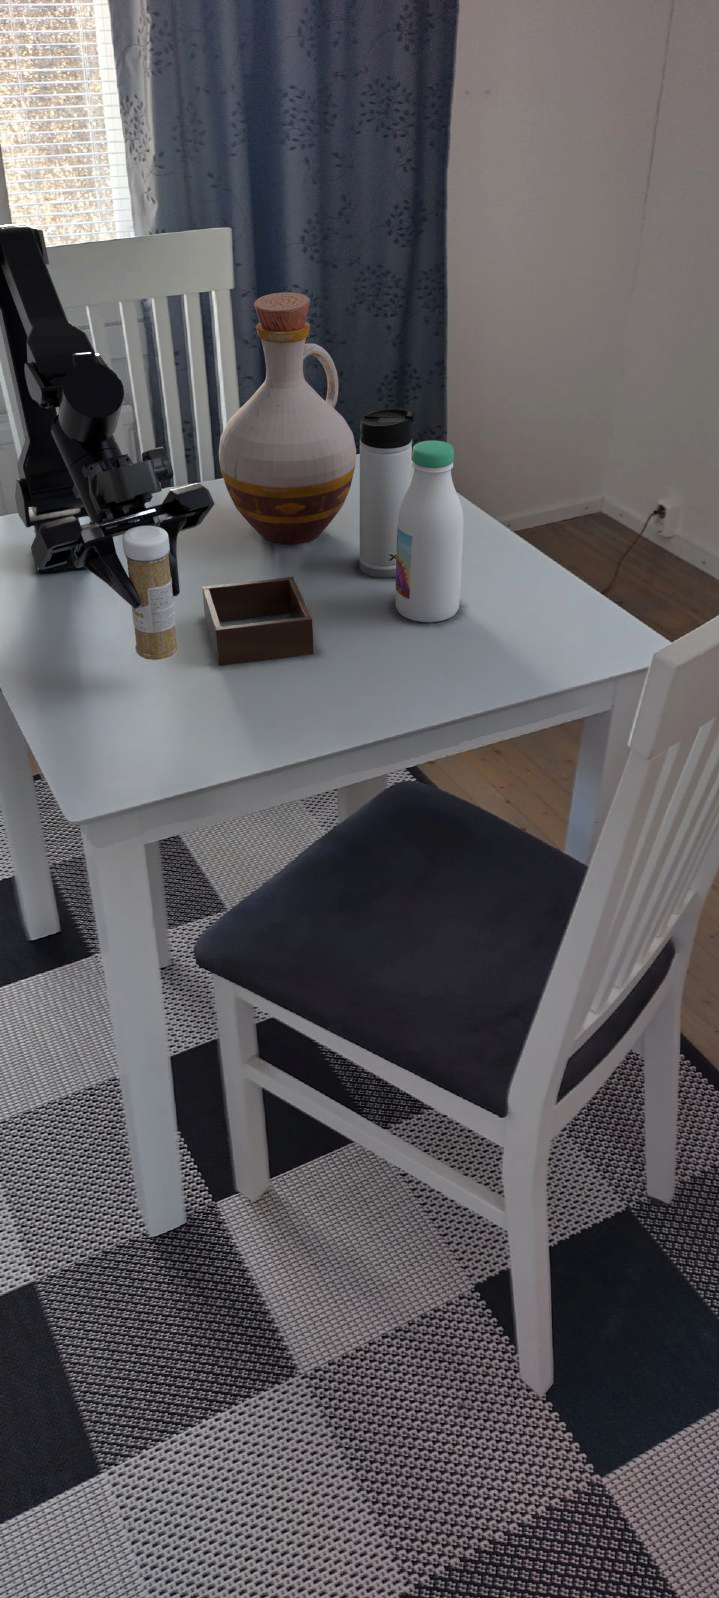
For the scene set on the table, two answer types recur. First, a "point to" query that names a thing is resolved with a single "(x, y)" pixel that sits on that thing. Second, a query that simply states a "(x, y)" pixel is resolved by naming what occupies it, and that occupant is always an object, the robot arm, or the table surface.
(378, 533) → the travel mug
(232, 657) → the crate
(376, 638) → the table surface
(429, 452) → the milk bottle
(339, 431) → the jug
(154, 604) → the sprinkles bottle
